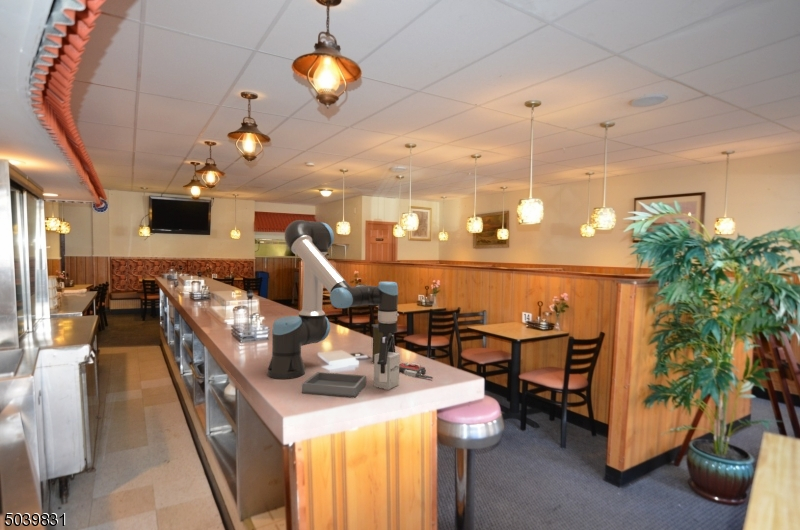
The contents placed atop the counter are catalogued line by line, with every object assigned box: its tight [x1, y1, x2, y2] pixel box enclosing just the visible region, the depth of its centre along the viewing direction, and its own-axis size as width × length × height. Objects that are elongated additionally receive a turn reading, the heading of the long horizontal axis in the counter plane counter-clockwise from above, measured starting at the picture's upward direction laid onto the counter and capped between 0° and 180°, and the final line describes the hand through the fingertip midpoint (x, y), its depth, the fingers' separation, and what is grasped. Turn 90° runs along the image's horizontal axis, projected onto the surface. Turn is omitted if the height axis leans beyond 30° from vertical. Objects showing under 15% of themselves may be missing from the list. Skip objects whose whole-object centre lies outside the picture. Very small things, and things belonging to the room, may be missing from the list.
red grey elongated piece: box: [399, 362, 434, 380], centre depth 175 cm, size 9×4×20 cm
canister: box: [370, 323, 383, 364], centre depth 192 cm, size 11×10×20 cm
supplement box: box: [373, 352, 401, 391], centre depth 158 cm, size 7×7×13 cm
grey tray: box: [301, 371, 367, 399], centre depth 154 cm, size 20×15×4 cm
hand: (386, 376), depth 158 cm, fingers open, 13 cm apart
